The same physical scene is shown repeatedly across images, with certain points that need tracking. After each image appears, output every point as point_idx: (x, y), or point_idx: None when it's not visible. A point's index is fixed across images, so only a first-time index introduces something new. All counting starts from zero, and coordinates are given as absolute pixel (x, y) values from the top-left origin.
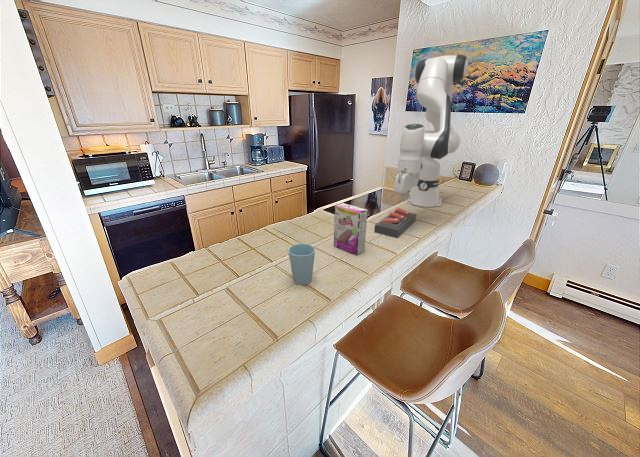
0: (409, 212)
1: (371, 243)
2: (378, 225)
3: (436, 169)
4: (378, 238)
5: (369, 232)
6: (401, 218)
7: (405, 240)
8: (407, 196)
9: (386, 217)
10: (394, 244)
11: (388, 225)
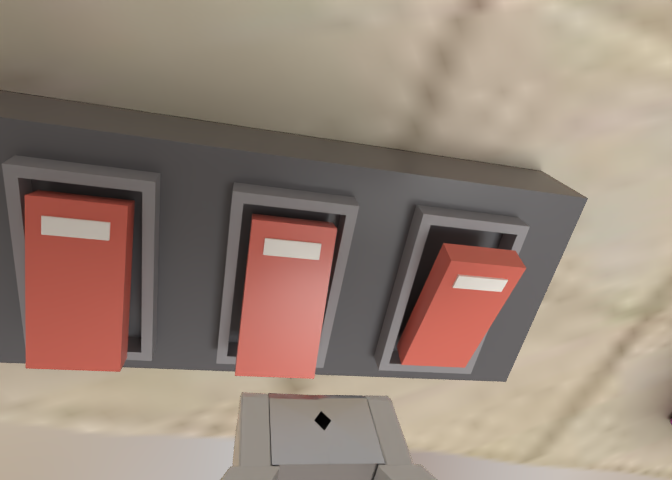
0: (35, 203)
1: (659, 295)
2: (512, 357)
3: None
4: (573, 284)
5: None
6: (334, 240)
7: (571, 95)
8: (318, 450)
9: None
10: (659, 161)
11: None
